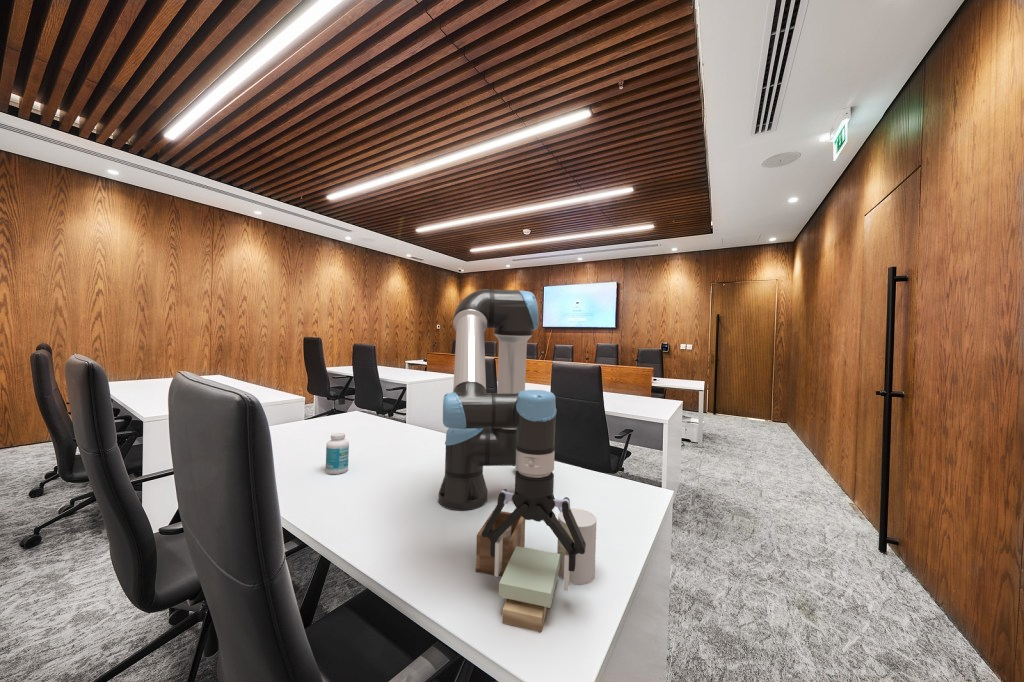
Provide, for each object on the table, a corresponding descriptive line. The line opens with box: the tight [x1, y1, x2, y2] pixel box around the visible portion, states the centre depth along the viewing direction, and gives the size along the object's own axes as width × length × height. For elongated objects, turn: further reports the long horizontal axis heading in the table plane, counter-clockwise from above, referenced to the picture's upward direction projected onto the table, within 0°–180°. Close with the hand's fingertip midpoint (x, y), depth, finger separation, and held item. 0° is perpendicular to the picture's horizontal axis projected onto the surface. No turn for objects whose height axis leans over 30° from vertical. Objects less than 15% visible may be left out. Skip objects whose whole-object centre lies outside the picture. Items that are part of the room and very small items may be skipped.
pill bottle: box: [325, 432, 350, 475], centre depth 135 cm, size 8×7×14 cm
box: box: [475, 509, 526, 578], centre depth 85 cm, size 12×8×8 cm, turn 165°
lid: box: [498, 546, 560, 609], centre depth 73 cm, size 12×10×3 cm
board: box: [501, 598, 548, 633], centre depth 73 cm, size 16×7×2 cm, turn 165°
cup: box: [556, 508, 597, 585], centre depth 81 cm, size 8×8×12 cm
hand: (531, 579), depth 73 cm, fingers open, 13 cm apart
